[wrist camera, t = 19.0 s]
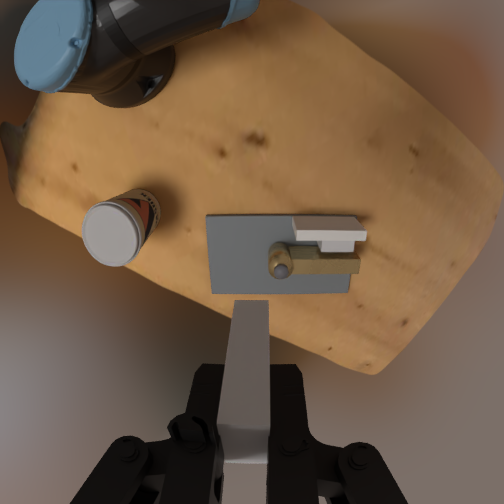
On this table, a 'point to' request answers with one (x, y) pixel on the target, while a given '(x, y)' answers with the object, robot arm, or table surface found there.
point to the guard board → (259, 241)
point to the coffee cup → (120, 226)
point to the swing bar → (312, 260)
